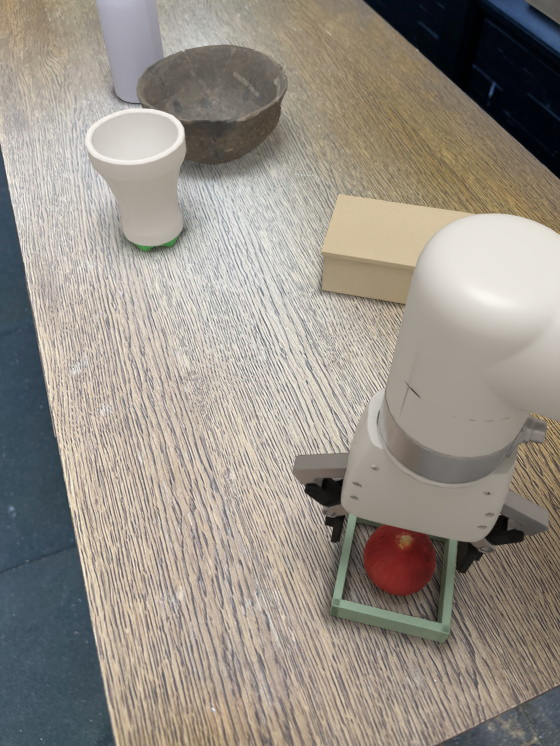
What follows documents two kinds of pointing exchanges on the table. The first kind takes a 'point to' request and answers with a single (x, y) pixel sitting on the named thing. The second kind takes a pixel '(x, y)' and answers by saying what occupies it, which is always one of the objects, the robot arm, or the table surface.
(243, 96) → the bowl
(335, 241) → the beige rectangular box
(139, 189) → the cup
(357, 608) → the green rectangular frame
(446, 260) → the robot arm
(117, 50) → the soap bottle
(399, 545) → the red pomegranate
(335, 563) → the table surface
